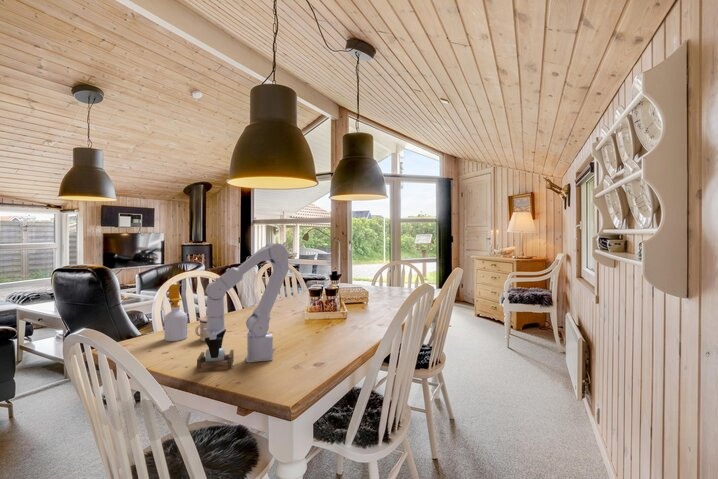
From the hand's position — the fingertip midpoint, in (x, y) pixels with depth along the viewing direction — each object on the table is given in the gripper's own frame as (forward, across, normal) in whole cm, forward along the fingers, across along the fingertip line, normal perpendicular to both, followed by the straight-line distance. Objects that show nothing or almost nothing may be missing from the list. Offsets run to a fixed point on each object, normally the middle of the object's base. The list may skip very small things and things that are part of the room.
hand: (216, 353), depth 122 cm
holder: (+4, 0, 0) cm, 4 cm away
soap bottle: (+4, -39, -22) cm, 45 cm away
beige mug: (+4, -34, -8) cm, 35 cm away
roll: (+3, 0, 0) cm, 3 cm away
